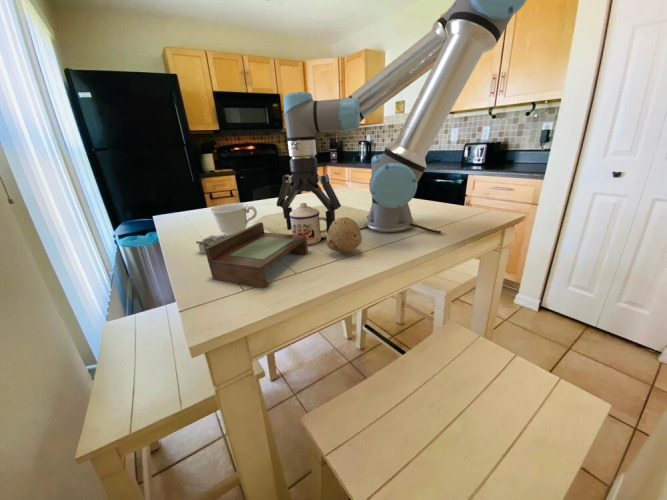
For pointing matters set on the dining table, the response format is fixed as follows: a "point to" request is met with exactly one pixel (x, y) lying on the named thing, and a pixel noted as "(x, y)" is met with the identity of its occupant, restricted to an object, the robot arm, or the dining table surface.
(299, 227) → the teacup with lid
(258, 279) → the shelf
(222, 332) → the dining table surface
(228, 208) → the teacup
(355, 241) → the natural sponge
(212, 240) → the egg carton
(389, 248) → the dining table surface
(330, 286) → the dining table surface
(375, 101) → the robot arm
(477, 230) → the dining table surface
